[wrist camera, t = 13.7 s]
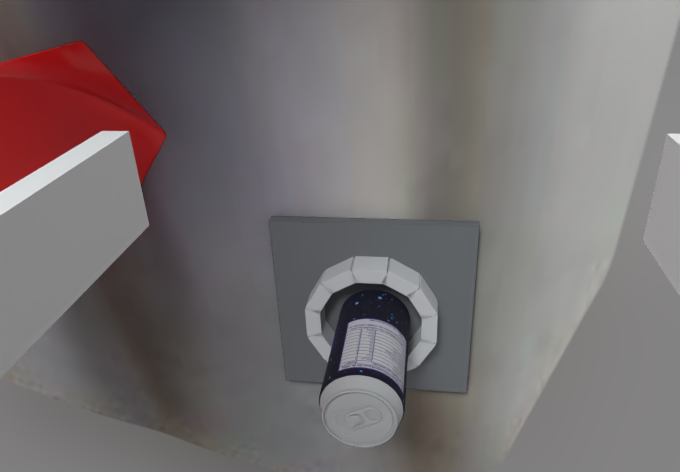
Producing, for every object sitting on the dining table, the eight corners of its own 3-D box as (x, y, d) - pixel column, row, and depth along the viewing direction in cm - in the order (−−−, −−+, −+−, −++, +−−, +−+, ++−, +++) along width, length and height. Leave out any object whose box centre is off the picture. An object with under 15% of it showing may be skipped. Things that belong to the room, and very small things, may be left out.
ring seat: (288, 372, 53) (280, 395, 51) (272, 215, 46) (262, 233, 43) (465, 384, 51) (467, 409, 48) (478, 221, 44) (481, 240, 41)
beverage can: (329, 297, 48) (299, 401, 37) (391, 273, 46) (378, 375, 35) (361, 348, 50) (341, 461, 39) (422, 327, 48) (418, 439, 37)
